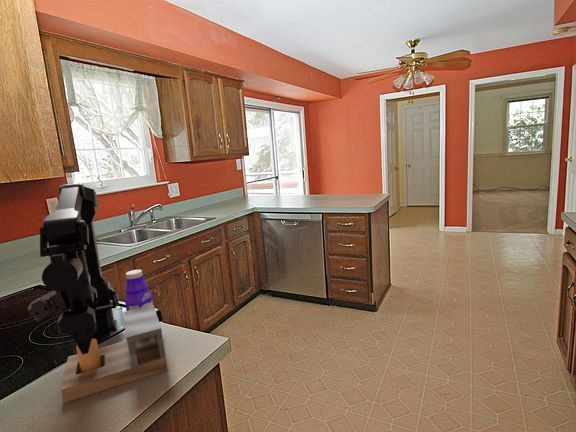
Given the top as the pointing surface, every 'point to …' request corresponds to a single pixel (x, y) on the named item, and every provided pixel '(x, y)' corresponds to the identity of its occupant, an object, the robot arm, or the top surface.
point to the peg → (89, 357)
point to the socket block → (120, 358)
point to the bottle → (137, 291)
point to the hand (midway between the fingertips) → (86, 343)
